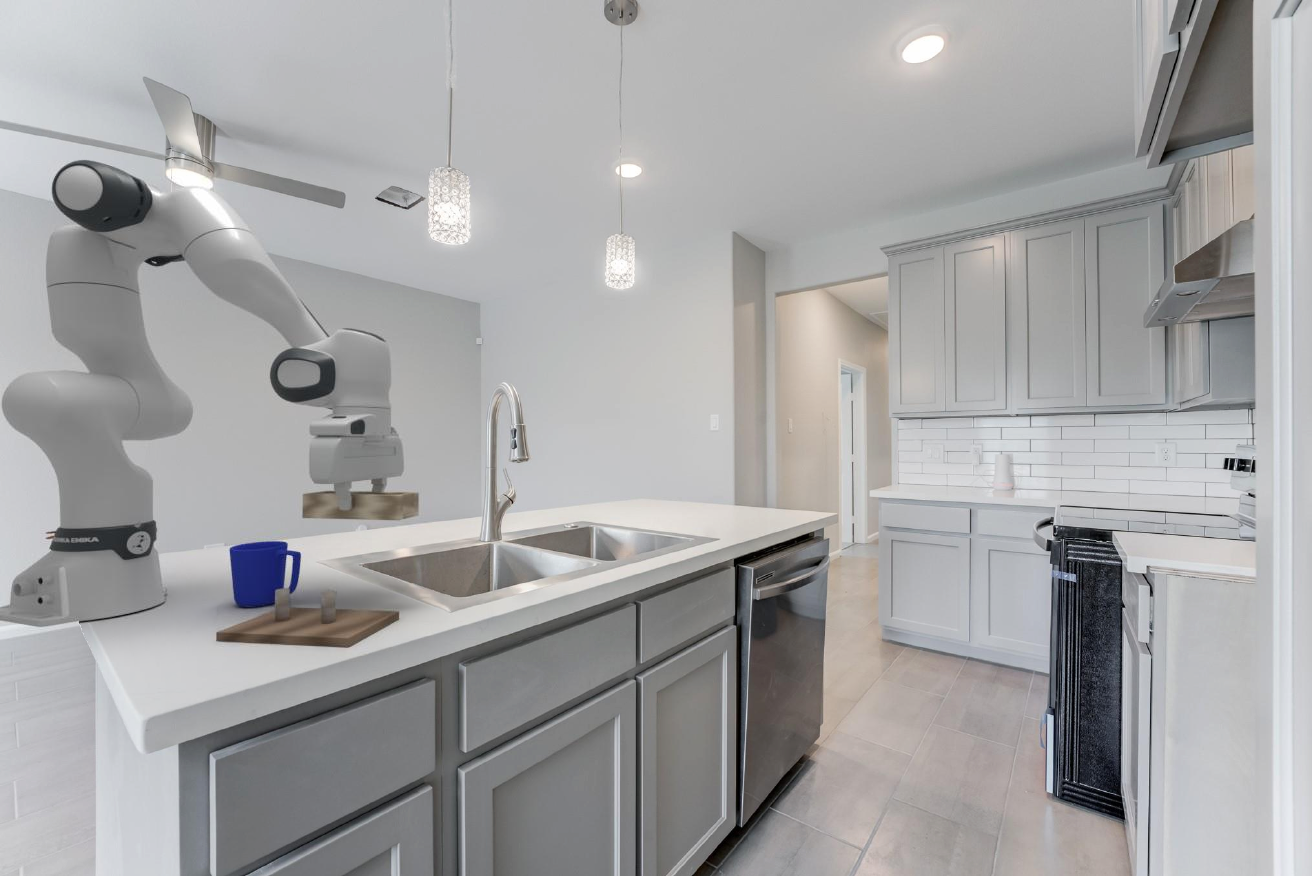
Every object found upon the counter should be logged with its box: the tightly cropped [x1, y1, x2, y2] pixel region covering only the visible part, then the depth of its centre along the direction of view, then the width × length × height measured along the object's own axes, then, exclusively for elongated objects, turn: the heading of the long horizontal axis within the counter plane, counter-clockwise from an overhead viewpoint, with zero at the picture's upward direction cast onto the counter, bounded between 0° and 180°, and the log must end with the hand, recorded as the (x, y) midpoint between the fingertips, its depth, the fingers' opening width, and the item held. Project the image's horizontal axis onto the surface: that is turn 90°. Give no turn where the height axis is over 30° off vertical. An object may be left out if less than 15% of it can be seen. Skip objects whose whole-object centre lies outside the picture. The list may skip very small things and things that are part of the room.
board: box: [215, 587, 400, 648], centre depth 83 cm, size 20×12×6 cm, turn 83°
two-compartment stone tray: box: [302, 490, 420, 521], centre depth 95 cm, size 17×6×4 cm, turn 83°
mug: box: [229, 540, 302, 608], centre depth 96 cm, size 8×12×10 cm
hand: (361, 507), depth 95 cm, fingers closed on two-compartment stone tray, 6 cm apart
